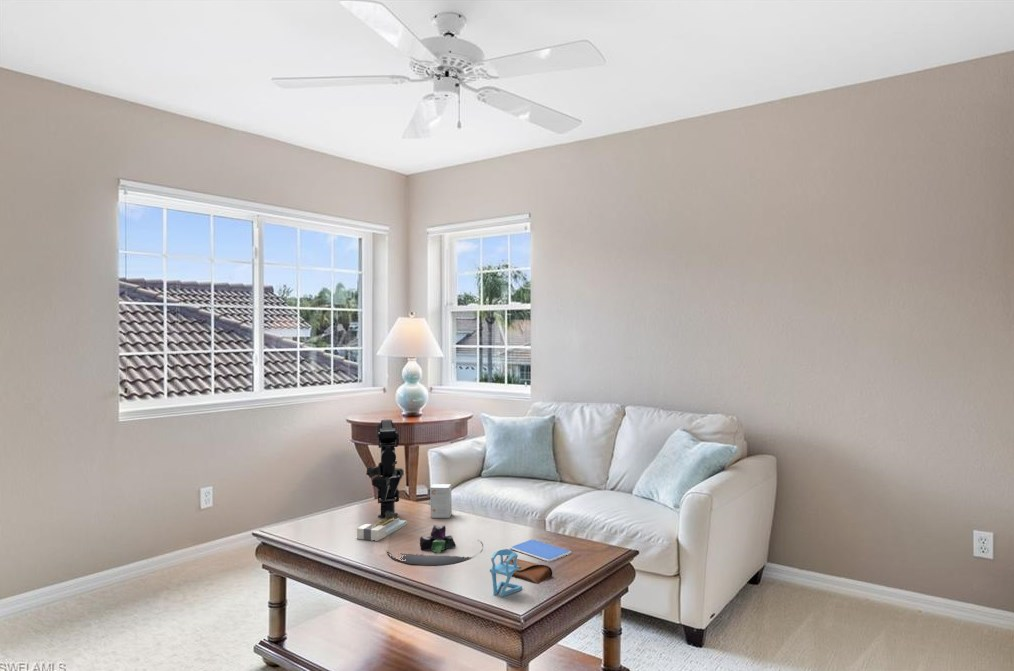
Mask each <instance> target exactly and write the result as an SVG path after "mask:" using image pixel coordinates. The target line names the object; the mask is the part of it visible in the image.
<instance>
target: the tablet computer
mask: <svg viewBox="0 0 1014 671" xmlns="http://www.w3.org/2000/svg"><path fill="white" fill-rule="evenodd" d="M509 550H512V551H514V552H518V553H520V554H523V555H527V556H530V557H532V558H536V559H538V560H542V561H544V562H547V563H551V562H554V561H556V560H559V559H562V558H564V557H566V555H567V556H570V555H571V554H572V551H571V550H569V549H565V548H562V547H558V546H556V545H552V544H549V543H545V542H543V541H540V540H536V539H533V538H532V539H528V540H526V541H523V542H520V543H518V544H515V545H513V546H512V545H511V546H510V547H509ZM561 557H562V558H561Z"/></svg>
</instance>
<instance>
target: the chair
mask: <svg viewBox="0 0 1014 671" xmlns="http://www.w3.org/2000/svg"><path fill="white" fill-rule="evenodd" d="M497 556H500V562H499V563H498V564H496V563H495V559H496V557H497ZM503 556H506V557H507V556H509V557H508V559H507V560H506V563H503V562H504V557H503ZM518 557H519V555H518V553H516V551H515V550H512V549H510V548H503V549H499V550H497V551H495V552H494V553H493V554H492V557H490V560H491V563H492V567H491V568H489V572H490V574H491V579H492V588H493V589H492V590H493V591H492V592H493V594H492V596H497V595H498V593H499V591H500V590H501V591H500V598H504V597H506V596H508V595H511V594H513V593H516V592H518V591H522V590H523V585H519V584H514V583H510V580H511V579H512V578H513V577H512V575H513V574H514V572H515V571H517V570H518V569H519V566H517V565H516V560H517V559H518ZM513 558H515V559H514V563H513V564H514V565H510V564H509V562H510V561H511V560H512V559H513ZM497 574H499V575H502V576H505V577H506V580H505V581H501V580H500V581H499V582H498V583H497ZM502 586H503V587H502ZM501 587H502V588H501ZM507 587H509V588H511V589H507Z"/></svg>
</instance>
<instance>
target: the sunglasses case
mask: <svg viewBox="0 0 1014 671" xmlns="http://www.w3.org/2000/svg"><path fill="white" fill-rule="evenodd" d="M508 557H509V556H507V555H506V558H505V559H503V563H506V560H507V559H508ZM514 559H515V558H513V559H512V560H511V561H510V562H509V564H510V565H514V564H513V563H514ZM516 565H517V566H519V569H518V570H517V571H515V572H514V574H513V575H512V577H511V578H516V579H519V580H524V581H527V582H530V583H533V584H535V585H536V584H537V585H538V584H540V583H543V582H544V581H546V580H548V579H549V578H551V577H553V570H552V568H551V567H550V566H548V565H545V564H540V563H536V562H535V563H534V562H532V561H528V560H523V559H519V558H517V560H516Z"/></svg>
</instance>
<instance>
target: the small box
mask: <svg viewBox="0 0 1014 671" xmlns="http://www.w3.org/2000/svg"><path fill="white" fill-rule="evenodd" d="M429 491H430V495H429V496H430V498H429V499H430V518H432V519H434V518H435V519H450V517H451V515H452V514H453V512H452V511H453V510H452V508H453V507H452V505H453V504H452V484H450V483H444V484H441V483H439V484H437V483H434V484H432V485H431V486H430V488H429Z"/></svg>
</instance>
